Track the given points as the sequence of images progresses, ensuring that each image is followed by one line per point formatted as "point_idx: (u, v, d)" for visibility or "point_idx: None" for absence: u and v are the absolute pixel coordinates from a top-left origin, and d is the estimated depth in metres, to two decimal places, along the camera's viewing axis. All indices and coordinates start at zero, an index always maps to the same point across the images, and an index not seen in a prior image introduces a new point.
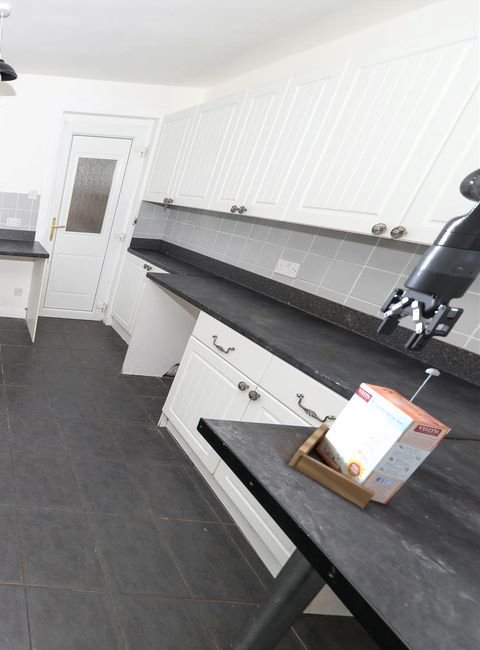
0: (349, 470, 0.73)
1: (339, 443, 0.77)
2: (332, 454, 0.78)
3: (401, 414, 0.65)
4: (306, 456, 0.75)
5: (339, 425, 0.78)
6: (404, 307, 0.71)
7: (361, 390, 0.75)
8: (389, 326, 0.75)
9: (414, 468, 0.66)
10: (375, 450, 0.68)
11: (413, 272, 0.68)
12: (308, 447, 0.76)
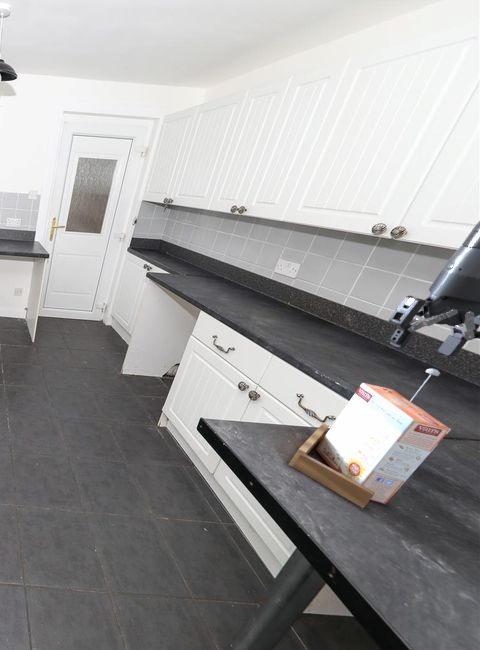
0: (349, 470, 0.73)
1: (339, 443, 0.77)
2: (332, 454, 0.78)
3: (401, 414, 0.65)
4: (306, 456, 0.75)
5: (339, 425, 0.78)
6: None
7: (361, 390, 0.75)
8: (449, 344, 0.66)
9: (414, 468, 0.66)
10: (375, 450, 0.68)
11: None
12: (308, 447, 0.76)
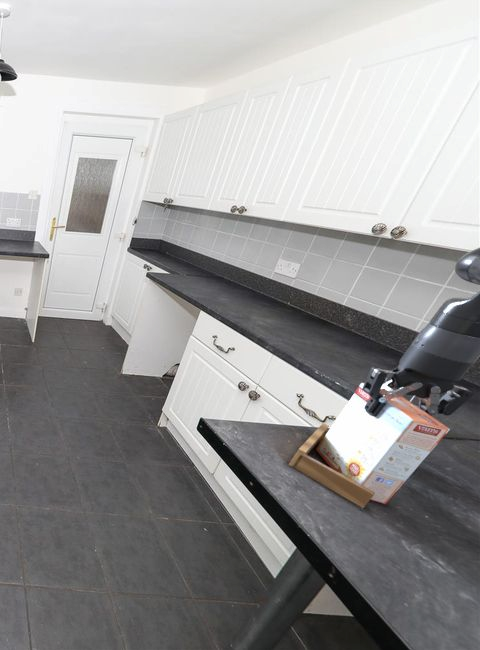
0: (349, 470, 0.73)
1: (339, 443, 0.77)
2: (332, 454, 0.78)
3: (401, 414, 0.65)
4: (306, 456, 0.75)
5: (339, 425, 0.78)
6: None
7: (360, 390, 0.75)
8: None
9: (414, 468, 0.66)
10: (375, 450, 0.69)
11: None
12: (308, 447, 0.76)
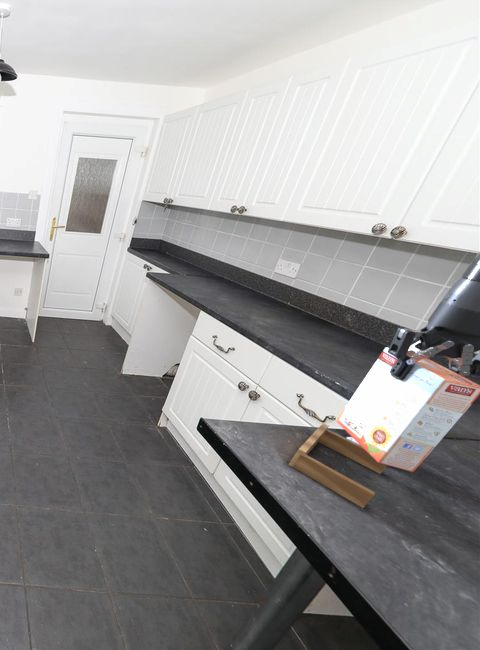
0: (373, 438, 0.69)
1: (361, 412, 0.73)
2: (354, 423, 0.74)
3: (431, 375, 0.62)
4: (306, 456, 0.75)
5: (361, 393, 0.75)
6: None
7: (385, 355, 0.71)
8: None
9: (445, 432, 0.62)
10: (402, 415, 0.65)
11: None
12: (308, 447, 0.76)
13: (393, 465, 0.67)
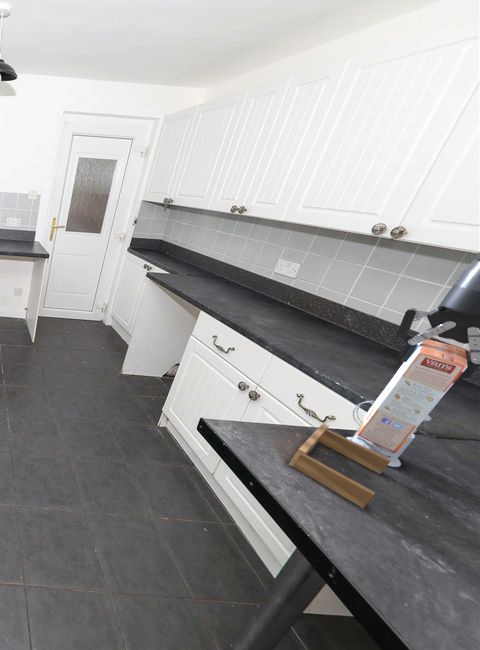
0: (367, 416, 0.70)
1: (377, 399, 0.73)
2: (369, 411, 0.74)
3: (417, 351, 0.63)
4: (306, 456, 0.75)
5: None
6: None
7: None
8: None
9: (426, 411, 0.62)
10: (387, 391, 0.67)
11: None
12: (308, 447, 0.76)
13: (372, 441, 0.68)
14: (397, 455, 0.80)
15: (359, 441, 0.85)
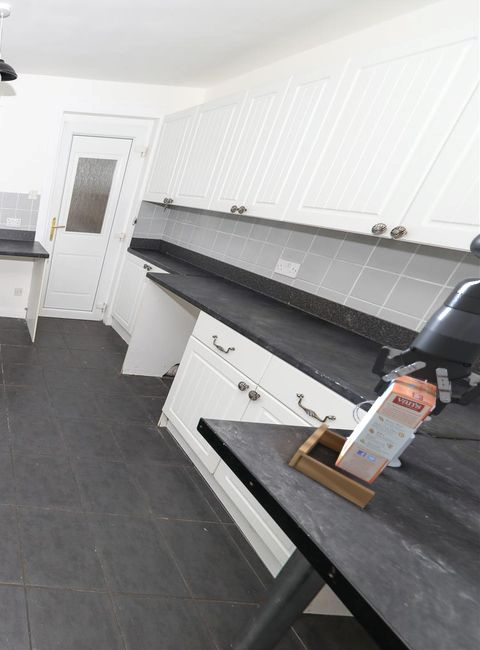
0: (344, 447, 0.74)
1: (355, 429, 0.76)
2: (347, 440, 0.77)
3: (390, 388, 0.66)
4: (306, 456, 0.75)
5: None
6: None
7: None
8: None
9: (398, 446, 0.65)
10: (363, 424, 0.70)
11: None
12: (308, 447, 0.76)
13: (349, 471, 0.71)
14: (397, 455, 0.80)
15: None
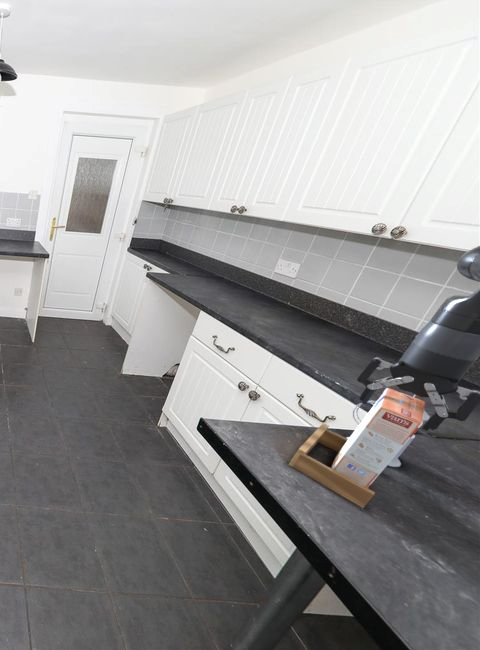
0: (335, 460, 0.75)
1: (346, 442, 0.77)
2: (338, 453, 0.79)
3: (379, 404, 0.68)
4: (306, 456, 0.75)
5: (356, 428, 0.78)
6: None
7: (382, 394, 0.74)
8: (429, 419, 0.66)
9: (387, 461, 0.67)
10: (353, 438, 0.71)
11: None
12: (308, 447, 0.76)
13: None
14: (397, 455, 0.80)
15: None
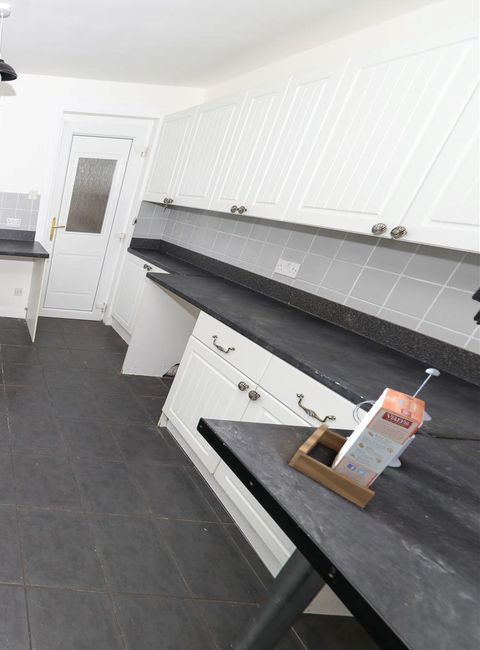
0: (335, 460, 0.75)
1: (346, 442, 0.77)
2: (338, 453, 0.79)
3: (379, 404, 0.68)
4: (306, 456, 0.75)
5: (356, 428, 0.78)
6: None
7: (382, 394, 0.74)
8: None
9: (387, 461, 0.67)
10: (353, 438, 0.71)
11: None
12: (308, 447, 0.76)
13: None
14: (397, 455, 0.80)
15: None
